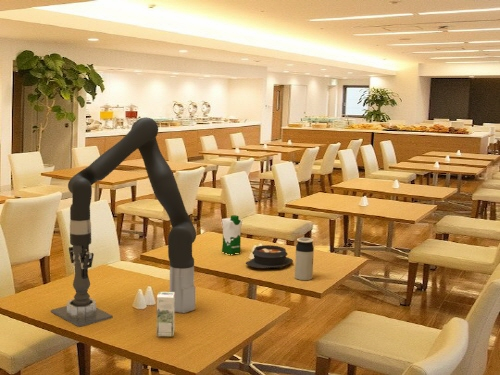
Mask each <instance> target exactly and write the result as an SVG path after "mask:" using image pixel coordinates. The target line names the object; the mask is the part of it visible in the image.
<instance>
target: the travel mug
mask: <svg viewBox="0 0 500 375" xmlns="http://www.w3.org/2000/svg"><path fill="white" fill-rule="evenodd" d="M296 241H297V244H296V245H295V266H294V278H295V279H296V280H298V279H299V281H310V280H312V279H313V273H314V272H313V271H314V255H315V254H314V249H315V248H314V244H313V242H314V241H315V240H314V239H313V238H310V237H299V238H298V237H297V239H296Z"/></svg>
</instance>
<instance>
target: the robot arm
mask: <svg viewBox="0 0 500 375" xmlns="http://www.w3.org/2000/svg"><path fill="white" fill-rule="evenodd" d="M158 133H159V125H158V123H157V121H155V119H153V118H151V117H146V116H145V117H141V118H138V119H137V120H136V121H135V122H133V124H132V125H131V128H130V131H128V133H126V134H125V136H124V137H122V139H120V140H119V141H118V142H117V143H115V144H114V145H112V146H111V147H109V149H107V150H106V151H104V152H103V153H102V154H101V155H100V156H98V157H96V159H95V160H93V162H92V163H90V165H89V166H87V167H85V168H84V169H82V170H80V171H78V172H77V173H76V174H74V175H73V176H72V177H71V178H70V179H69V180H68V184H67V188H68V191H69V192H70V193H71V194H72V199H71V200H72V201H71V203H72V204H70V206H69V207H70V210H69V218H70V220H69V244H70V245H71V246H70V247H69V246H68V253H69V259H70V263H71V264H73V266H74V273H75V272H76V263H75V262H74V259H75V258H76V257H75V255H74V252H73V246H82V255H80V253H79V261H80V263H81V268H82V269H81V276H82V279H86V278H88V277H89V272H88V271H89V268H92V266H93V261H94V254H95V253H93V252H90V247H89V248H88V245H89V246H90V245H91V244H92V222H91V221H92V220H91V203H92V202H91V201H92V195H93V189H92V188H93V186H92V185H94V184H96V183H97V182H100V181H102V180H104V179H105V178H106V177H108V176H109V175H110V174H112V172H114V171H115V169H117V168H118V167H119V166H120V165H121V164H122V163H123V162H124V161H125V160H126V159H127V158H128V157H130V156H131V154H133V153H134V152H135V151H136V150H138V151H139V153H140V155H141V158H142V161H143V164H144V167H145V172H146V173H147V177H148V180H149V183H150V186H151V188H152V190H153V194H154V195H155V197H156V200H158V202H159V204H160V205H161V206H162V208H163V209H164V210H165V212H166V213H167V216H168V218H169V221H170V224H171V228H172V229H170V231H169V232H168V239H167V240H168V241H167V248H168V249H167V251H168V253H167V254H168V261H169V292H175V311H174V313H180V314H186V313H188V312H192V311H194V310H196V286H195V258H194V257H193V243H195V241H196V238H197V231H196V228H195V225H194V224H193V222H192V219H191V218H190V216H189V213H188V211H187V209H186V207H185V203H184V201H183V198H182V195H181V192H180V189H179V185H178V184H177V180H176V178H175V175H174V173H173V171H172V168H171V167H170V165H169V163H168V162H167V160H166V158H165V157H164V156H163V154H162V152H161V150H160V149H161V148H160V147H159V144H158V140H157V136H158ZM82 259H85V260H82ZM84 262H85V263H84Z"/></svg>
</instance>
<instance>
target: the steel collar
mask: <svg viewBox="0 0 500 375" xmlns="http://www.w3.org/2000/svg"><path fill="white" fill-rule="evenodd" d="M89 298H90V300H91V304H90V305H86V306H73V300H74V298H72V299H69V300H67V301H66V306H60V307H57V308H54V309H50V313H52V314H54V315H56V316H58V317H59V318H61V319H63V320H65V321H67V322H68V321H69V322H68V323H70V322H71V324H72V325H74V326H76V327H77V328H81V327H83V326H84V327H85V326H89V325H91V324H96V323H99V322H102V321H105V320H106V321H107V320H110V319H113V318H114V315H113V314H111V313H109V312H106V311H104V310H102V309H100V308H98V307H97V300H96V299H94V298H91V297H89Z"/></svg>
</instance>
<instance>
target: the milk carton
mask: <svg viewBox="0 0 500 375" xmlns="http://www.w3.org/2000/svg"><path fill="white" fill-rule="evenodd" d="M239 217H240V216H239V215H230V217H227V218H226V217H225V218H221V222H222V223H221V224H222V249H221V253H222V252H224V253H227V254H230V255H231V254H235V253H240V252H241V253H242V250H241V249H242V246H241V237H242V236H241V234H242V224H243V219H240V218H239Z"/></svg>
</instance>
